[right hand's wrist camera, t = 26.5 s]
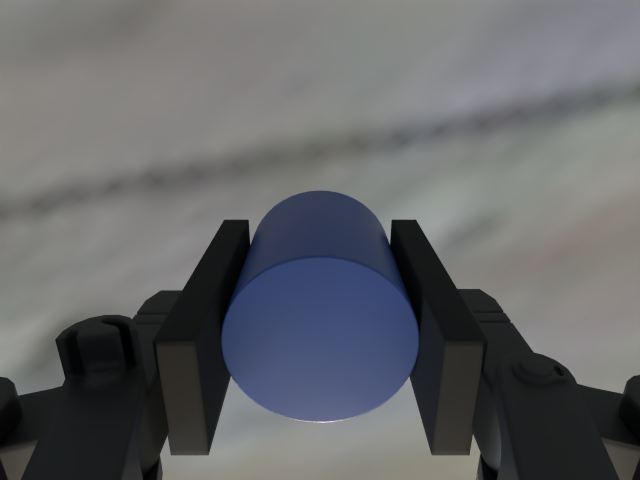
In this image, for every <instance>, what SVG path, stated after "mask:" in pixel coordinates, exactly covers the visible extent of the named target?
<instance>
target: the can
mask: <svg viewBox="0 0 640 480" xmlns="http://www.w3.org/2000/svg"><path fill="white" fill-rule="evenodd" d="M419 337H420V332H419V326H418V321H417V318H416V315H415V312H414V309H413V306H412V303H411V301H410V298H409V295H408V293H407V290H406V287H405V285H404V282H403V279H402V276H401V274H400V271H399V268H398V266H397V263H396V260H395V258H394V255H393V252H392V250H391V247H390V244H389V242H388V239H387V236H386V233H385V231H384V229H383V227H382V225H381V223H380V222H379V220H378V219H377V217H376V216H375V215H374V214H373V213H372V212H371V211H370V210H369V209H368V208H367V207H366V206H364V205H363V204H362V203H360V202H359V201H357V200H355V199H353V198H351V197H349V196H347V195H343V194H340V193H337V192H331V191H309V192H304V193H300V194H297V195H294V196H291V197H289V198H287V199H285V200H283V201H282V202H280V203H279V204H277V205H276V206H275V207H273V208H272V209H271V210H270V211H269V212H268V213H267V214H266V216H265V217H264V218H263V219H262V221H261V222H260V224H259V226H258V228H257V230H256V232H255V235H254V237H253V240H252V243H251V245H250V248H249V251H248V253H247V256H246V259H245V261H244V264H243V267H242V269H241V272H240V275H239V278H238V280H237V283H236V286H235V288H234V291H233V294H232V296H231V299H230V302H229V304H228V307H227V310H226V312H225V315H224V319H223V323H222V329H221V347H222V353H223V358H224V361H225V363H226V366H227V369H228V371H229V373H230V374H231V376H232V378H233V380H234V381H235V382H236V384H237V385H238V386H239V388H240V389H241V390H242V391H243V392H244V393H245V394H246V395H247V396H248V397H249V398H251V399H252V400H253V401H254V402H256V403H257V404H259V405H260V406H262V407H264V408H265V409H267V410H269V411H271V412H273V413H275V414H278V415H281V416H283V417H286V418H290V419H294V420H298V421H305V422H320V423H324V422H336V421H342V420H347V419H350V418H354V417H357V416H360V415H362V414H365V413H367V412H370V411H371V410H373V409H375V408H377V407H379V406H380V405H382V404H383V403H385V402H386V401H387V400H389V399H390V398H391V397H392V396H393V395H394V394H395V393H397V391H398V390H399V389H400V388H401V387H402V386H403V385H404V383H405V382H406V380H407V379H408V377H409V376H410V374H411V372H412V369H413V367H414V365H415V362H416V359H417V356H418V350H419Z"/></svg>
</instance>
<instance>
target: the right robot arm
mask: <svg viewBox="0 0 640 480" xmlns="http://www.w3.org/2000/svg"><path fill="white" fill-rule="evenodd" d="M390 247H391V250H392V252H393V255H394V258H395V260H396V263H397V266H398V268H399V271H400V274H401V276H402V279H403V282H404V285H405V287H406V290H407V293H408V295H409V298H410V301H411V303H412V306H413V309H414V312H415V315H416V318H417V321H418V326H419V332H420V337H419V350H418V356H417V359H416V362H415V365H414V367H413V369H412V372H411V374H410V380H411V383H412V387H413V390H414V394H415V397H416V401H417V404H418V408H419V412H420V415H421V419H422V422H423V426H424V429H425V433H426V436H427V440H428V444H429V447H430V451H431V454H432V455H469V454H470V448H471V442H472V436H473V435H474V437H475V440H476V442H477V444H478V447H479V449H480V452H481V454H480V459H479V465H478V470H477V476H476V480H640V375H637V376H633V377H632V378H631V379H629V380H628V381H627V383H626V386H625V389H624V392H623V394H620V393H615V392H611V391H606V390H601V389H596V388H591V387H587V386H583V385H580V384H577V383H576V380H575V378H574V377H573V375H572V374H571V373H570V371H569V370H568V369H567V368H566V367H564V366H563V365H561V364H560V363H559V362H557V361H556V360H553V359H551V358H549V357H546V356H544V355H542V354H537V353H534V352H533V351H532V350H531V348H530V347H529V345H528V344H527V343H526V341H525V340H524V339H523V337H522V336H521V334H520V333H519V332H518V330H517V329H516V328H515V326H514V325H513V323H510V319H509V318H508V317H507V315H506V314H505V313H503V310H502V308H501V307H500V306H499V304H498V303H497V301H496V300H495V299H494V298H492V297H491V296H489V295H488V294H486V293H485V292H483V291H482V290H480V289H457V288H456V286H455V285H454V283H453V281H452V280H451V278H450V276H449V275H448V273H447V271H446V270H445V268H444V266H443V265H442V263H441V261H440V260H439V258H438V256H437V254H436V253H435V251H434V249H433V248H432V246H431V244H430V243H429V241H428V239H427V238H426V236H425V234H424V233H423V231H422V229H421V228H420V226H419V224H418V223H417V221H416V220H392V225H391V240H390ZM249 248H250V236H249V220H224V221H223V223H222V225H221V226H220V228H219V230H218V232H217V233H216V235H215V237H214V238H213V240H212V242H211V243H210V245H209V247H208V248H207V250H206V252H205V253H204V255H203V257H202V258H201V260H200V262H199V263H198V265H197V267H196V268H195V270H194V272H193V274H192V275H191V277H190V279H189V280H188V282H187V284H186V285H185V287H184V289H183V290H182V291H160V292H158V293H157V294H155V295H154V296H152V297H151V298H149V299H147V300H146V301H145V302H144V304H143V305H142V307H141V308H140V309H139V311H138V312H137V315H135V316H134V318H133V319H131V318H130V317H125V316H121V315H103V316H98V317H93V318H89V319H86V320H83V321H81V322H78V323H75V324H74V325H72V326H70V327H69V328H67V329H66V330H64V331H63V332H62V333H61V334H60V335H59V336H58V337H57V338H56V339H55V340H56V344H57V348H58V352H59V356H60V359H61V363H62V367H63V371H64V375H65V381H64V383H63V386H61V387H57V388H53V389H49V390H44V391H39V392H34V393H30V394H25V395H20V396H18V394H17V391H16V388H15V385H14V383H13V382H12V381H10V380H9V379H8V378H4V377H0V480H162V475H163V472H162V465H161V459H160V452H161V450H162V448H163V445H164V443H165V440H166V438H167V435H168V440H169V446H170V452H171V455H209V452H210V448H211V445H212V441H213V438H214V434H215V430H216V427H217V423H218V420H219V416H220V413H221V409H222V406H223V402H224V398H225V395H226V391H227V388H228V384H229V381H230V377H231V374H230V373H229V371H228V369H227V366H226V363H225V361H224V358H223V353H222V347H221V329H222V323H223V319H224V315H225V312H226V310H227V307H228V304H229V302H230V299H231V296H232V294H233V291H234V288H235V286H236V283H237V280H238V278H239V275H240V272H241V269H242V267H243V264H244V261H245V259H246V256H247V253H248V251H249Z"/></svg>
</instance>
